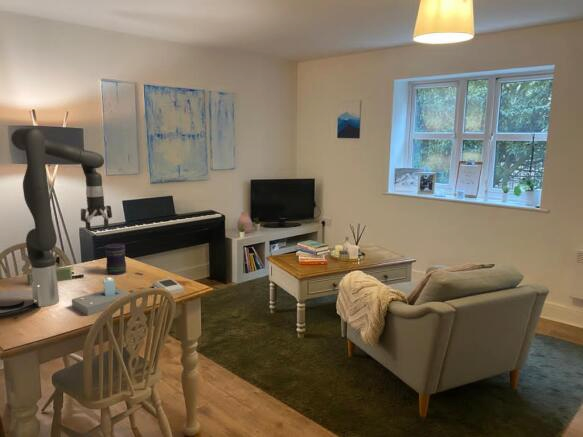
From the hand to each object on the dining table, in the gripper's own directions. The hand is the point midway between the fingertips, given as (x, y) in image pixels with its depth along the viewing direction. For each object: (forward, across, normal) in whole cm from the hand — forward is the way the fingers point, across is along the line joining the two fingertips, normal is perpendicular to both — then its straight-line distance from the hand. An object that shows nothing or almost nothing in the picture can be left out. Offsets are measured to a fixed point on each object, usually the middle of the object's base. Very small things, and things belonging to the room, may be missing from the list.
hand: (97, 228), depth 216 cm
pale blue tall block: (+28, -9, -25) cm, 39 cm away
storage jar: (+28, +14, +11) cm, 33 cm away
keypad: (+29, +17, -31) cm, 46 cm away
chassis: (+28, -13, -26) cm, 40 cm away
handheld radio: (+29, -13, +21) cm, 38 cm away
